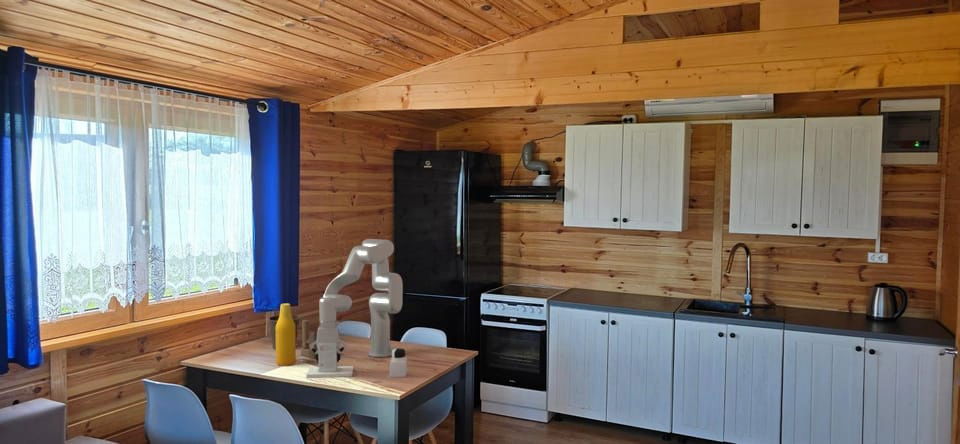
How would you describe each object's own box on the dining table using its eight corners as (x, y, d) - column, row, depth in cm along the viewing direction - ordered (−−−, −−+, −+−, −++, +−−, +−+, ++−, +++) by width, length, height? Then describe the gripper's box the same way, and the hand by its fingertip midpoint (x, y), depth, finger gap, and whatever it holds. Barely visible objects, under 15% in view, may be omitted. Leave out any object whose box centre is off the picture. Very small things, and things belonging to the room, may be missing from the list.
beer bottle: (285, 360, 320) (285, 301, 318) (299, 362, 316) (299, 303, 314) (271, 364, 312) (271, 304, 310) (286, 367, 307) (285, 306, 306)
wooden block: (314, 359, 322) (314, 323, 321) (300, 355, 328) (300, 320, 327) (320, 357, 325) (320, 322, 324) (306, 354, 331) (305, 319, 330)
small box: (338, 368, 301) (337, 340, 300) (336, 371, 295) (336, 343, 294) (320, 368, 300) (320, 340, 300) (318, 372, 294) (318, 344, 293)
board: (353, 369, 305) (353, 365, 305) (351, 376, 293) (351, 373, 293) (309, 370, 302) (309, 367, 302) (306, 378, 290) (306, 374, 290)
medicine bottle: (406, 372, 299) (406, 347, 299) (405, 377, 292) (405, 351, 292) (391, 372, 299) (391, 347, 298) (389, 377, 292) (389, 351, 291)
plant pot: (291, 352, 335) (291, 321, 334) (262, 350, 338) (262, 320, 337) (305, 344, 351) (304, 315, 350) (277, 343, 354) (276, 313, 353)
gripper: (347, 322, 301) (348, 359, 302) (309, 323, 299) (309, 360, 300) (346, 325, 294) (347, 363, 295) (307, 326, 291) (307, 364, 292)
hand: (328, 361), depth 297 cm, fingers closed on small box, 8 cm apart
